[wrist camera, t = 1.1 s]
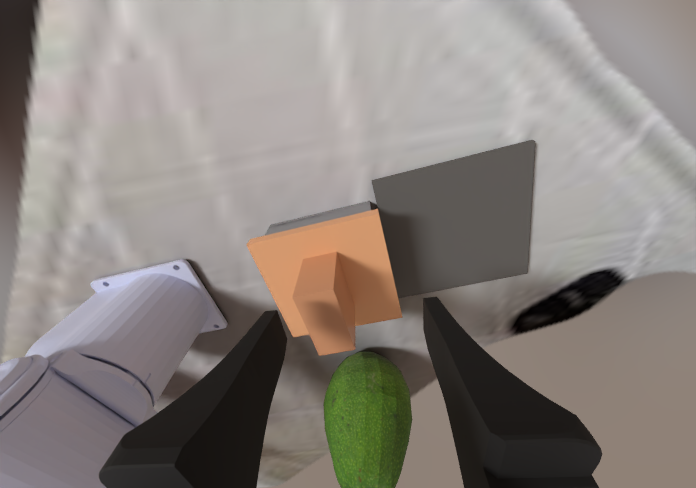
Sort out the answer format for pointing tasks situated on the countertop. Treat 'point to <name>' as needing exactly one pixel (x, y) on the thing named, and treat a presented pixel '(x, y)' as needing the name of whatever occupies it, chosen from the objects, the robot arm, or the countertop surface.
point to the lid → (329, 278)
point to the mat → (458, 220)
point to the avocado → (367, 421)
